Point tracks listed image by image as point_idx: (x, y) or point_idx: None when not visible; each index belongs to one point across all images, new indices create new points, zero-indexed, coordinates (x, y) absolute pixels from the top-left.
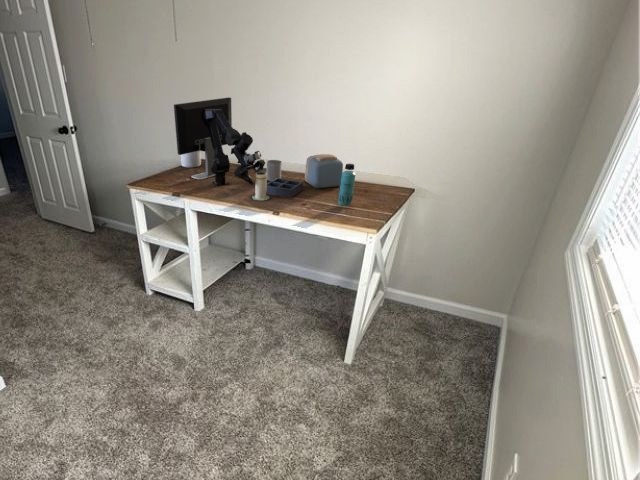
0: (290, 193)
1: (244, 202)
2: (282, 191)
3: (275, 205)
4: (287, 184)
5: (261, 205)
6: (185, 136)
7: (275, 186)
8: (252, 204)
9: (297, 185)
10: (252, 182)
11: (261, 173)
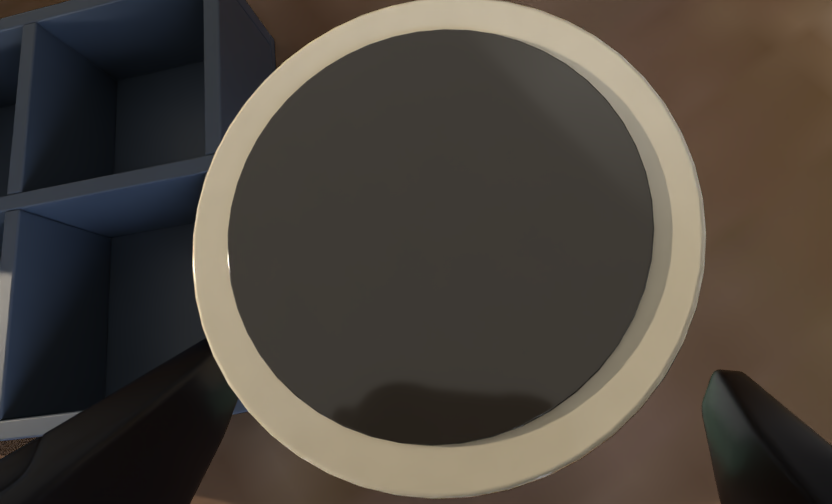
0: (245, 3)
1: (822, 402)
2: (245, 99)
3: (595, 6)
4: (28, 137)
5: (728, 125)
6: None
7: (67, 338)
8: (795, 245)
9: (20, 13)
10: (750, 392)
11: (425, 198)
